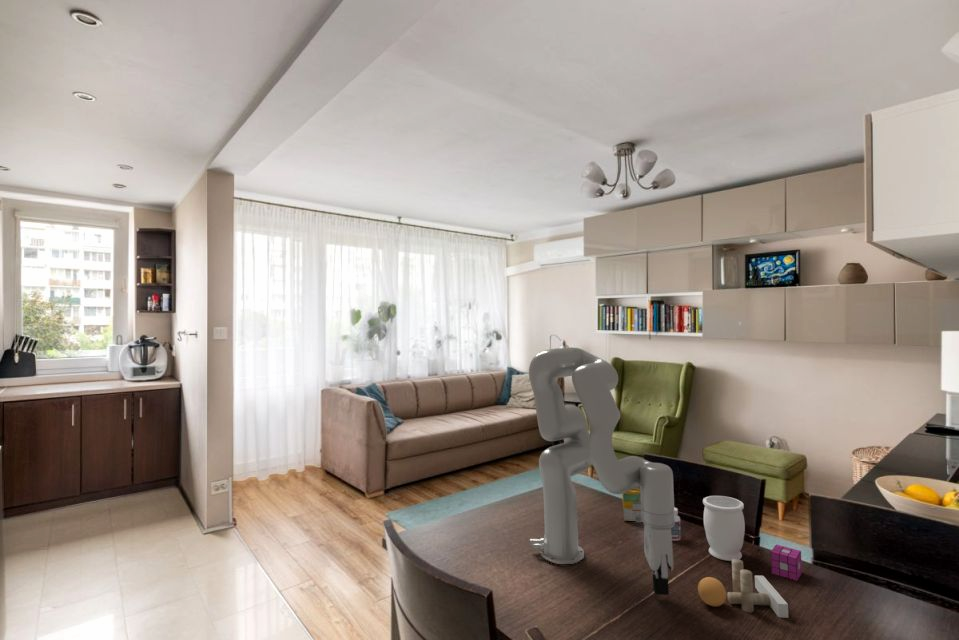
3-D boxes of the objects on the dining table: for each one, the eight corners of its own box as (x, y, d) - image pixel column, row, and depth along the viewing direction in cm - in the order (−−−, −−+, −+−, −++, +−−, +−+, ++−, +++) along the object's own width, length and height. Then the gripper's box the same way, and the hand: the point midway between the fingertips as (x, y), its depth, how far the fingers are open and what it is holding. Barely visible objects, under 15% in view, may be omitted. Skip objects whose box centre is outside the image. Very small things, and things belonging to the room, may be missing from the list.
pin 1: (735, 599, 111) (734, 563, 112) (731, 593, 114) (730, 558, 114) (746, 599, 111) (744, 563, 111) (742, 594, 113) (740, 559, 114)
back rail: (778, 617, 104) (778, 603, 104) (755, 587, 116) (754, 575, 116) (788, 617, 104) (787, 604, 104) (763, 587, 116) (763, 575, 116)
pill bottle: (682, 541, 142) (681, 512, 142) (664, 540, 143) (663, 511, 143) (678, 534, 147) (677, 505, 147) (661, 533, 148) (660, 505, 148)
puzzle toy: (802, 572, 122) (801, 550, 123) (797, 581, 118) (796, 558, 118) (776, 565, 126) (775, 544, 127) (771, 573, 122) (770, 551, 122)
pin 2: (744, 612, 106) (742, 574, 107) (739, 605, 109) (738, 569, 109) (755, 612, 106) (753, 575, 106) (751, 606, 108) (749, 569, 109)
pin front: (731, 596, 109) (770, 598, 108) (727, 589, 111) (765, 591, 110) (731, 606, 109) (770, 607, 108) (727, 598, 112) (765, 600, 111)
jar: (730, 567, 126) (727, 511, 126) (696, 551, 135) (694, 499, 135) (754, 557, 131) (752, 503, 131) (720, 542, 140) (718, 492, 140)
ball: (733, 610, 106) (705, 614, 108) (725, 591, 112) (699, 595, 114) (725, 587, 106) (697, 591, 107) (717, 569, 112) (692, 573, 113)
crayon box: (645, 519, 158) (644, 485, 159) (646, 523, 156) (645, 488, 156) (623, 518, 160) (621, 484, 160) (623, 521, 157) (622, 487, 157)
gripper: (636, 504, 121) (638, 575, 121) (648, 529, 106) (651, 610, 106) (666, 504, 120) (669, 577, 120) (683, 530, 105) (686, 612, 105)
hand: (660, 592), depth 113 cm, fingers closed
